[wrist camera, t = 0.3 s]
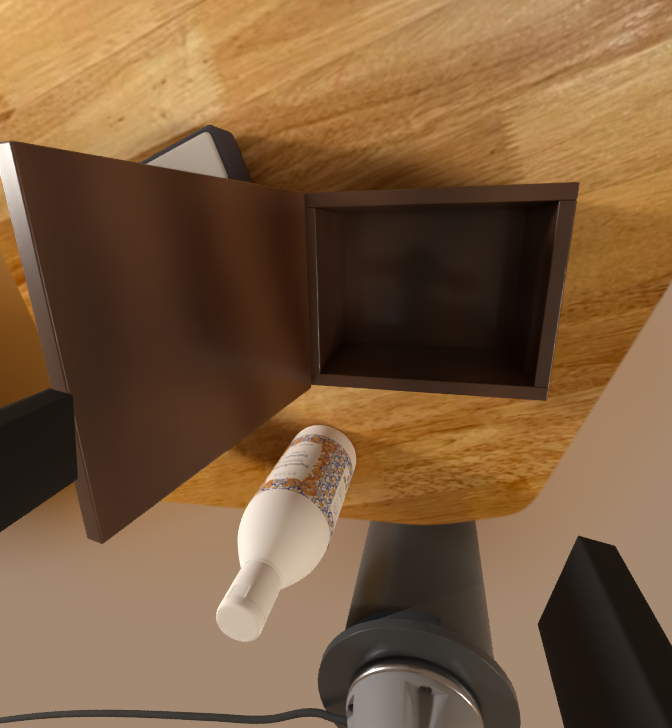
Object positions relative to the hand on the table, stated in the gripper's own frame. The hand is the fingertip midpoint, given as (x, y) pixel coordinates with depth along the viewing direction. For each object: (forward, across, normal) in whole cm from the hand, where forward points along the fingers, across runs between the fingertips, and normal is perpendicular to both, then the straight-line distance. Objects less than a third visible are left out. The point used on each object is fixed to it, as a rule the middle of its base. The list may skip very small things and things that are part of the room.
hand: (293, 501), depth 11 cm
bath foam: (+28, +4, +16) cm, 33 cm away
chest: (+28, -2, -3) cm, 28 cm away
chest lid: (+9, +7, -1) cm, 12 cm away
